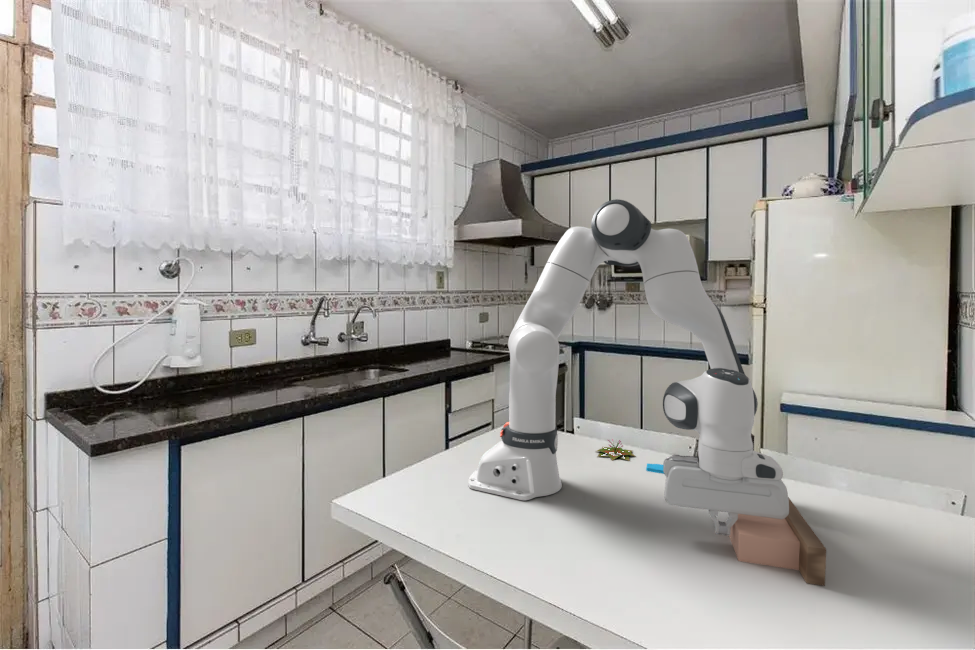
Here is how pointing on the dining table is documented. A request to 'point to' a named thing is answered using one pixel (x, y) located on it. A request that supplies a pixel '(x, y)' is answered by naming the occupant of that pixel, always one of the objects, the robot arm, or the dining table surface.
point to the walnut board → (808, 548)
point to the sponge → (655, 468)
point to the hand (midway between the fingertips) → (722, 533)
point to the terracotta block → (765, 541)
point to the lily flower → (615, 451)
